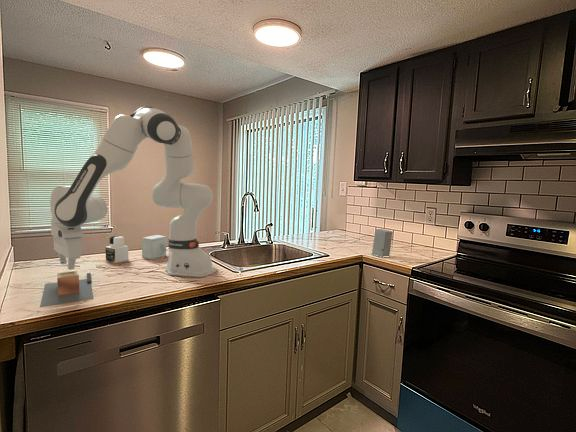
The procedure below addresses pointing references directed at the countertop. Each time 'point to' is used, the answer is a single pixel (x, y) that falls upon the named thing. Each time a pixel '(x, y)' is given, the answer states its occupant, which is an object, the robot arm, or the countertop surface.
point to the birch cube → (68, 282)
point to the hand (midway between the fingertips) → (67, 266)
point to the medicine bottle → (117, 250)
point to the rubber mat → (53, 298)
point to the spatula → (88, 266)
